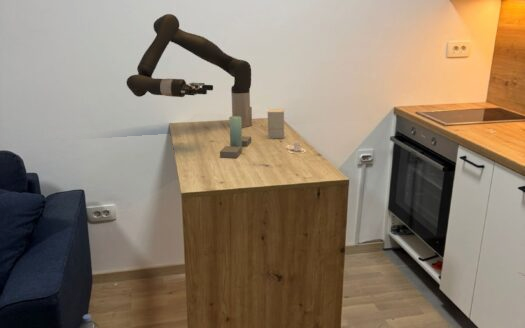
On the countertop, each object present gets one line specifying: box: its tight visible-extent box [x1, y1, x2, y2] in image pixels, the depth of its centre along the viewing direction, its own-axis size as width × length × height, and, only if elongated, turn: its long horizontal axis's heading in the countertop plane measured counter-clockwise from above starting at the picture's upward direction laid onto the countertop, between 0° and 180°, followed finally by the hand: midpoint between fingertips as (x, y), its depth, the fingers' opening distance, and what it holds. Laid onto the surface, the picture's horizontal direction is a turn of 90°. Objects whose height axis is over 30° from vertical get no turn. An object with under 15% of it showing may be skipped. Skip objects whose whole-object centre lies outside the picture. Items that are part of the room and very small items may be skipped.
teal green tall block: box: [229, 115, 243, 148], centre depth 206 cm, size 5×5×14 cm
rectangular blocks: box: [219, 135, 252, 159], centre depth 207 cm, size 25×7×2 cm, turn 168°
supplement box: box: [267, 108, 285, 139], centre depth 226 cm, size 7×7×13 cm
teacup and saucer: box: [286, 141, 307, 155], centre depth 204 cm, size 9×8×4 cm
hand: (209, 89), depth 203 cm, fingers open, 8 cm apart
